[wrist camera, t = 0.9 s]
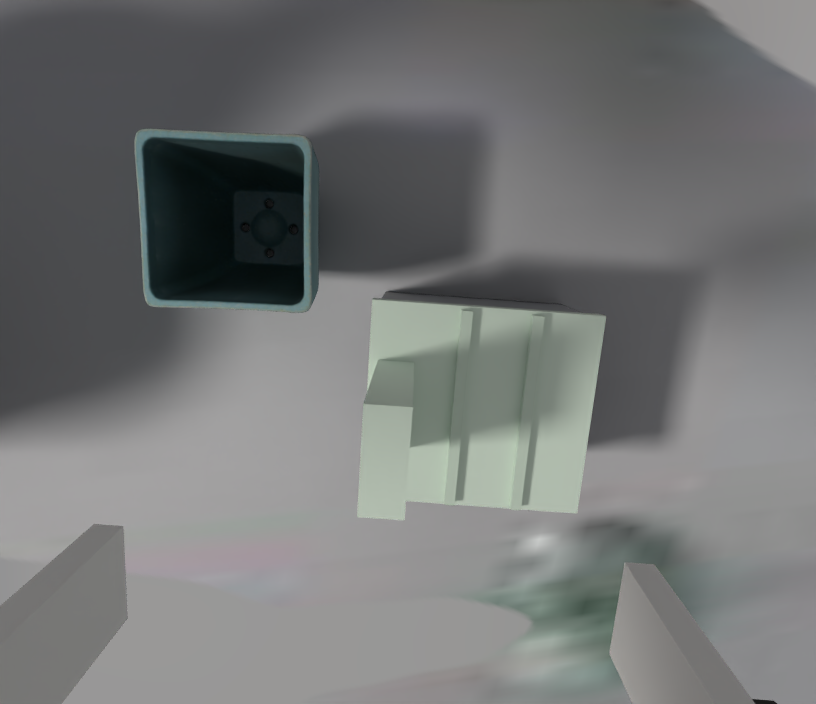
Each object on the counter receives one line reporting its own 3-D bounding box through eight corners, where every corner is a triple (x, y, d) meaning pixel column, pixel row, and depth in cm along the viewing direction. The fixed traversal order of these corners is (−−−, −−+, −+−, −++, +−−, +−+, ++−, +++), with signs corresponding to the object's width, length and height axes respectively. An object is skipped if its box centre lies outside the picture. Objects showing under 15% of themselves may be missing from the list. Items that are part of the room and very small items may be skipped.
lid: (364, 485, 32) (342, 585, 23) (374, 296, 30) (354, 321, 21) (569, 500, 32) (631, 606, 23) (596, 312, 30) (678, 345, 21)
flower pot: (338, 161, 35) (311, 134, 26) (337, 296, 36) (311, 314, 28) (204, 155, 35) (131, 127, 26) (209, 290, 36) (143, 307, 28)
